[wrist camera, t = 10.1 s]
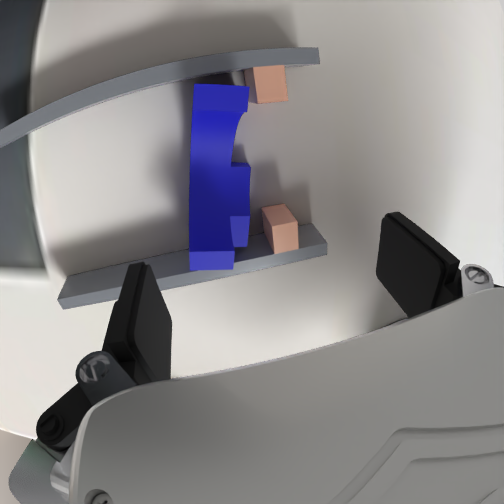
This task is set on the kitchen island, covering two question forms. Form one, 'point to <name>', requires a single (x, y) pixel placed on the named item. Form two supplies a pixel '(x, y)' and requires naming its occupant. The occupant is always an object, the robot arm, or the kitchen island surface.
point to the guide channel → (178, 263)
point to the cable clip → (217, 178)
